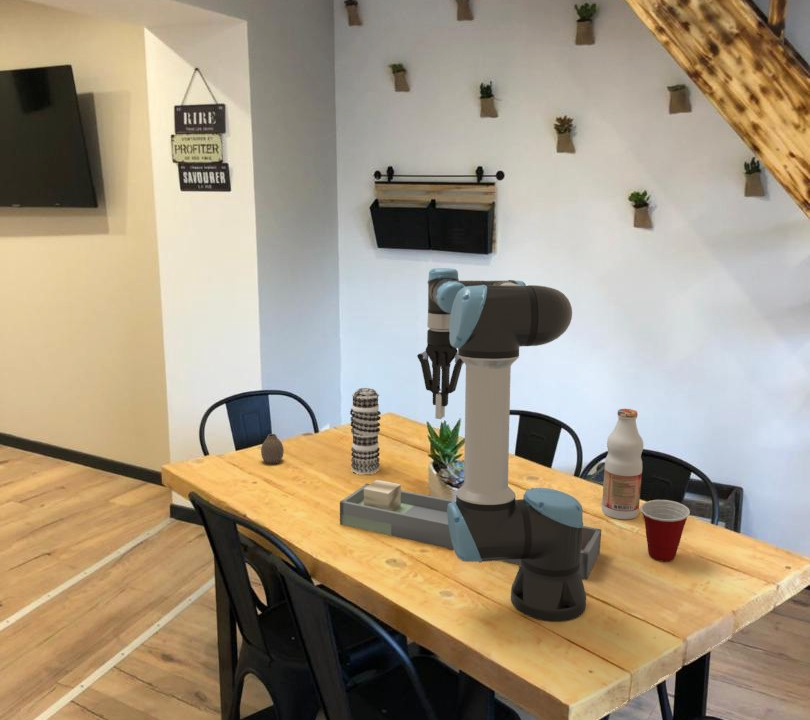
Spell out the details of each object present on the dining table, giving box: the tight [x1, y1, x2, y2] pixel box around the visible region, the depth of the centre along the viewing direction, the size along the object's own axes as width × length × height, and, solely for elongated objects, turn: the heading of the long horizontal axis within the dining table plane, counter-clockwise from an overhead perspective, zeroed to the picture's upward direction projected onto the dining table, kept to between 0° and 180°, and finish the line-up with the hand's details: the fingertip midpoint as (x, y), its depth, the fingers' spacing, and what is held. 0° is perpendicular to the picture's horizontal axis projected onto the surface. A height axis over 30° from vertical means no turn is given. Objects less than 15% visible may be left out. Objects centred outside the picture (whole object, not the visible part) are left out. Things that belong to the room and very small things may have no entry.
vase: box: [260, 433, 285, 465], centre depth 232 cm, size 7×7×9 cm
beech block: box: [364, 479, 402, 511], centre depth 191 cm, size 7×7×6 cm
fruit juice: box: [601, 408, 644, 520], centre depth 195 cm, size 9×9×28 cm
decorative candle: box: [349, 387, 382, 475], centre depth 225 cm, size 9×9×25 cm
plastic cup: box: [639, 499, 691, 562], centre depth 173 cm, size 11×11×12 cm
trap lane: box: [339, 483, 602, 580], centre depth 182 cm, size 14×62×6 cm, turn 64°
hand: (440, 417), depth 197 cm, fingers closed
